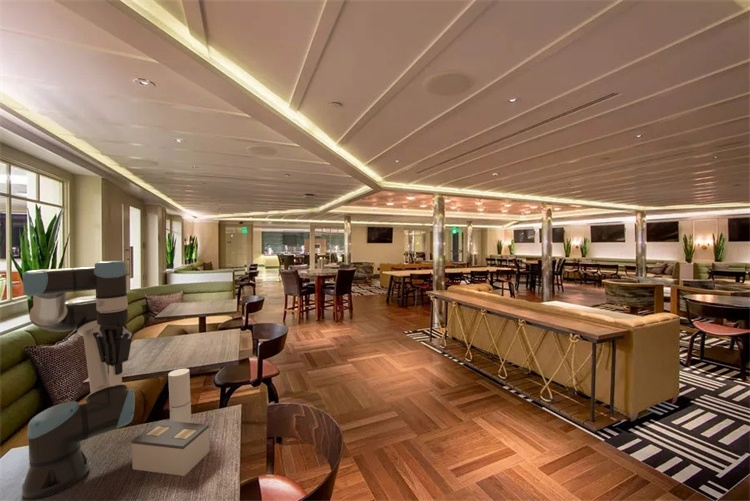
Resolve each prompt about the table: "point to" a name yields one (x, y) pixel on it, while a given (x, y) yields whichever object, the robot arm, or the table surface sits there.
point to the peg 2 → (185, 434)
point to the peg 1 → (157, 431)
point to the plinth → (170, 448)
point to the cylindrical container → (180, 395)
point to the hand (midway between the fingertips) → (115, 384)
